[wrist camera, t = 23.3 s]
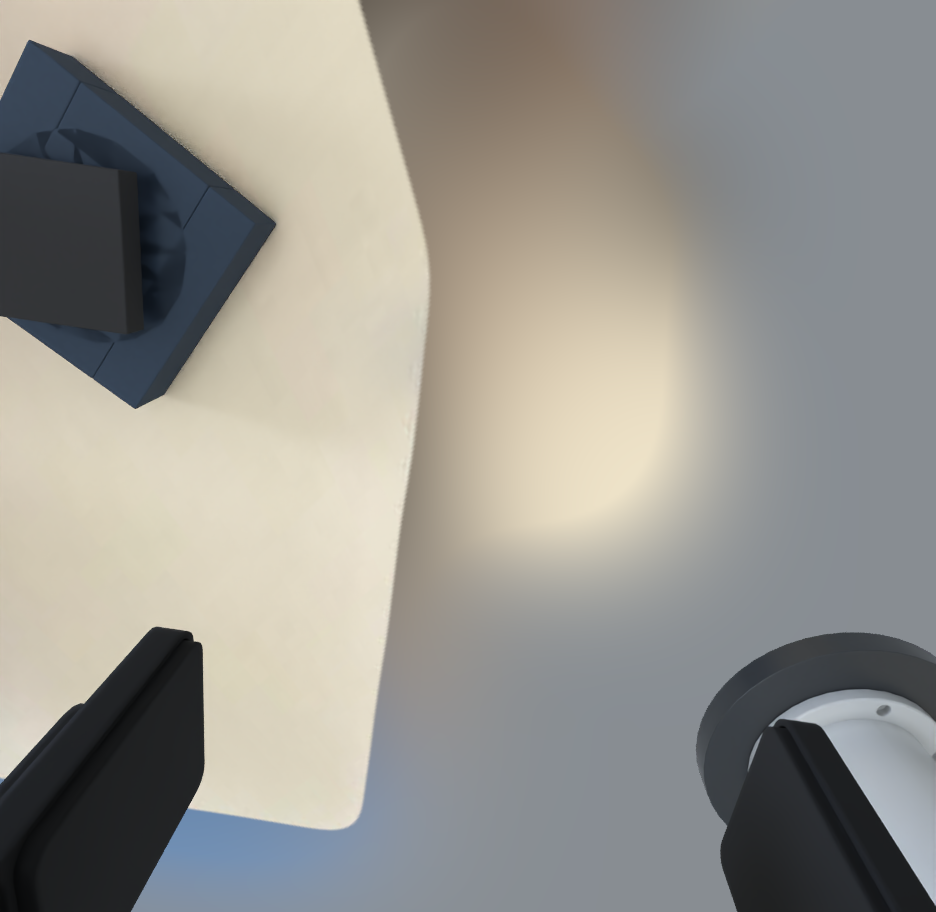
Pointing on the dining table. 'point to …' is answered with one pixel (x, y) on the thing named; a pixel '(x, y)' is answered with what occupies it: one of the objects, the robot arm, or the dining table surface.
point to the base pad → (160, 220)
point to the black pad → (70, 244)
